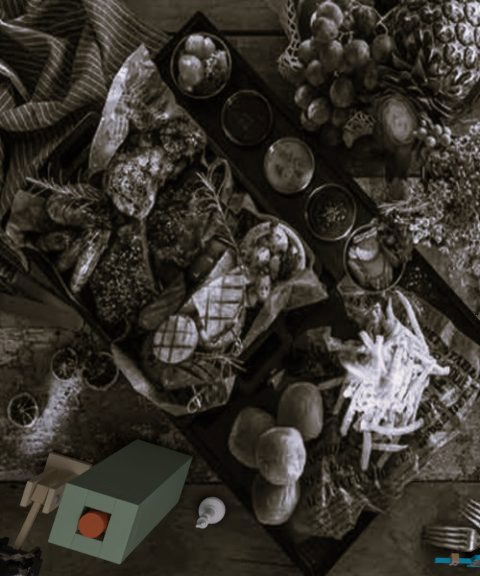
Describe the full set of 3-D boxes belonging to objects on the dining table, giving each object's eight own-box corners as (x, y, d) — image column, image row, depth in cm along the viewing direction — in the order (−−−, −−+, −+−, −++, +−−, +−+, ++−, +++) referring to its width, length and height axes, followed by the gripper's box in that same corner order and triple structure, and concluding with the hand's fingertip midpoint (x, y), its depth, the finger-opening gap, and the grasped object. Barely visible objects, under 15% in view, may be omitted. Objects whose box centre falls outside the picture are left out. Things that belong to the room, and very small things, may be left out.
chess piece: (195, 501, 144) (182, 517, 134) (220, 493, 144) (208, 508, 134) (203, 526, 144) (190, 543, 134) (228, 518, 144) (217, 535, 134)
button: (83, 527, 113) (75, 533, 110) (90, 504, 113) (82, 509, 110) (106, 534, 113) (99, 541, 110) (113, 511, 113) (106, 517, 110)
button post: (122, 484, 144) (47, 542, 111) (137, 439, 144) (66, 482, 111) (178, 502, 144) (119, 564, 111) (192, 456, 144) (138, 505, 111)
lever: (28, 561, 130) (24, 560, 128) (0, 553, 130) (-4, 551, 128) (60, 492, 135) (57, 490, 133) (33, 483, 135) (30, 481, 133)
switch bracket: (78, 509, 144) (51, 529, 132) (37, 497, 143) (7, 515, 132) (92, 464, 144) (67, 479, 132) (52, 451, 144) (23, 465, 132)
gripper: (23, 575, 115) (68, 538, 132) (-69, 546, 115) (-12, 514, 132) (7, 622, 115) (55, 580, 132) (-84, 594, 115) (-25, 555, 132)
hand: (21, 547), depth 132 cm, fingers closed on lever, 5 cm apart
